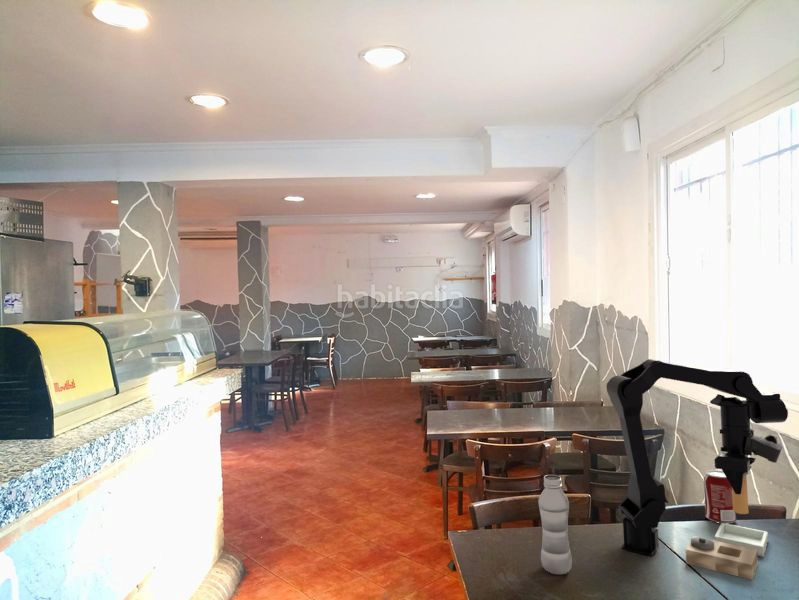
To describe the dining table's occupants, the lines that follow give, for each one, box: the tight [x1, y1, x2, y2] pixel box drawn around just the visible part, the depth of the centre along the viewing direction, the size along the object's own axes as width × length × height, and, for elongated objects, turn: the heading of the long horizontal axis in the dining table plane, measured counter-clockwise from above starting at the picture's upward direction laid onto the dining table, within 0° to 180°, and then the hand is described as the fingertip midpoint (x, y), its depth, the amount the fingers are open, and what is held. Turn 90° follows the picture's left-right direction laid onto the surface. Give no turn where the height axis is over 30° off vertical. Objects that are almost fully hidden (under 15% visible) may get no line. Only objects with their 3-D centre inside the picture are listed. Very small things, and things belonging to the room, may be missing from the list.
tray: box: [714, 523, 769, 557], centre depth 121 cm, size 9×9×2 cm
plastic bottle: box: [537, 474, 573, 576], centre depth 113 cm, size 6×7×20 cm
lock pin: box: [732, 471, 749, 515], centre depth 121 cm, size 4×4×10 cm
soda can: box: [703, 469, 737, 524], centre depth 134 cm, size 7×7×12 cm
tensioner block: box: [685, 535, 759, 581], centre depth 113 cm, size 12×8×4 cm, turn 50°
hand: (739, 491), depth 121 cm, fingers closed on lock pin, 3 cm apart
